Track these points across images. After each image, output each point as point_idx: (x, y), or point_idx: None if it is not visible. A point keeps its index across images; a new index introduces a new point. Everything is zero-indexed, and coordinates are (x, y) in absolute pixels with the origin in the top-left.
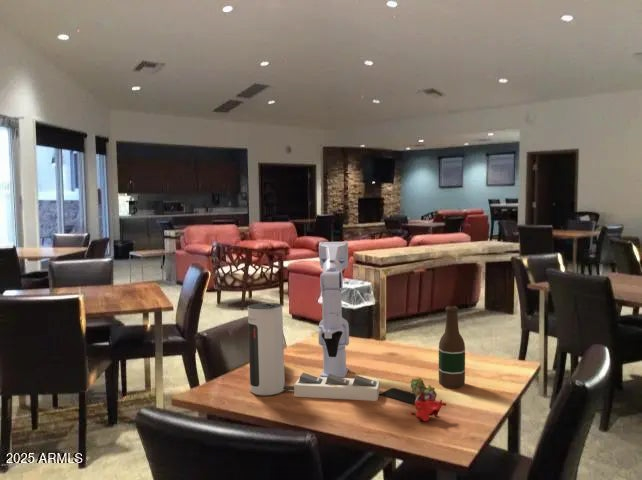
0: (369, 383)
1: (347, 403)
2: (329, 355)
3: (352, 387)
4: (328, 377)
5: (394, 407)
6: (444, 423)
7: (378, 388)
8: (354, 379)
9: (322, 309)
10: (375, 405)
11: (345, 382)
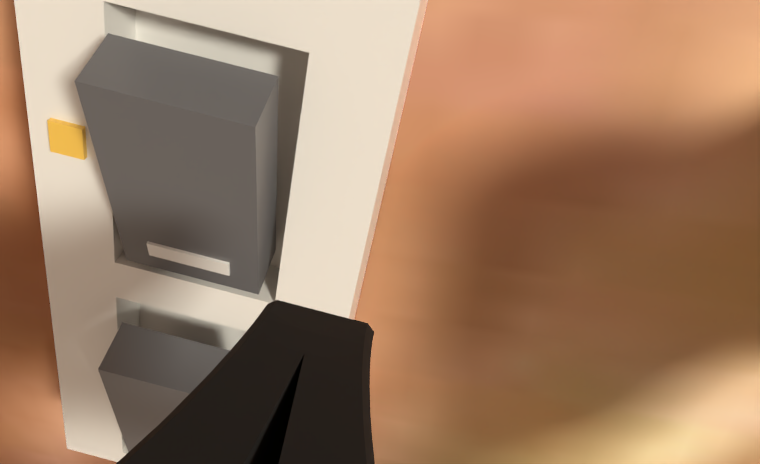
0: (124, 438)
1: (9, 165)
2: (255, 329)
3: (61, 291)
4: (80, 96)
5: (24, 429)
6: None
7: None
8: (101, 364)
9: None
10: (26, 344)
11: (161, 256)
